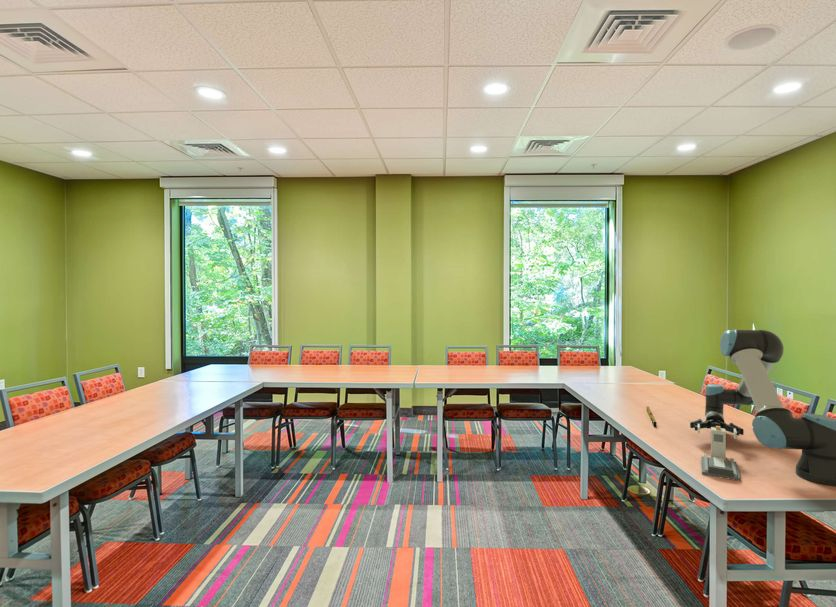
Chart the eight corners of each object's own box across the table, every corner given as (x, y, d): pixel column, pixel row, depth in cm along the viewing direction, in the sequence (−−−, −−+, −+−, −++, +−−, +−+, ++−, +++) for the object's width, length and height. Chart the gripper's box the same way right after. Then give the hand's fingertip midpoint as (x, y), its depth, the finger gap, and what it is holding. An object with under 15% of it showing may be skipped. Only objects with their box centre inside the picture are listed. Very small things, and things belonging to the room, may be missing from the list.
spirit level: (646, 411, 260) (646, 406, 260) (649, 411, 259) (649, 406, 259) (653, 427, 229) (653, 421, 229) (656, 427, 228) (656, 422, 228)
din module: (724, 456, 186) (724, 425, 186) (725, 460, 182) (725, 429, 182) (710, 454, 189) (710, 424, 189) (711, 458, 184) (711, 427, 184)
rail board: (736, 464, 178) (736, 455, 178) (740, 481, 162) (740, 471, 162) (701, 458, 184) (701, 450, 184) (701, 474, 168) (701, 465, 168)
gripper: (747, 432, 205) (752, 446, 187) (684, 424, 218) (684, 436, 200) (747, 416, 205) (752, 429, 187) (684, 409, 218) (684, 420, 200)
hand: (716, 433), depth 194 cm, fingers open, 13 cm apart
